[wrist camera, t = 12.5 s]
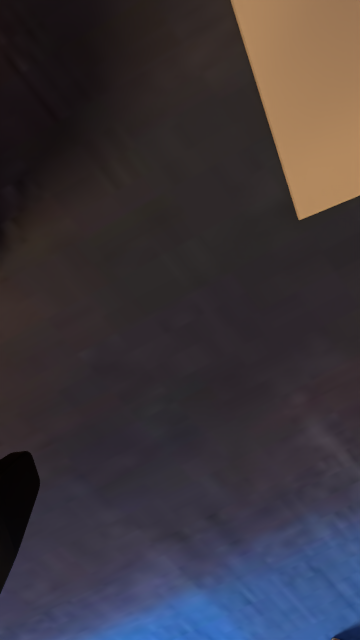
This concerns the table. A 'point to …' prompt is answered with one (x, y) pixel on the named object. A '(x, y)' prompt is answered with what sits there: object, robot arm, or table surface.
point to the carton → (309, 92)
